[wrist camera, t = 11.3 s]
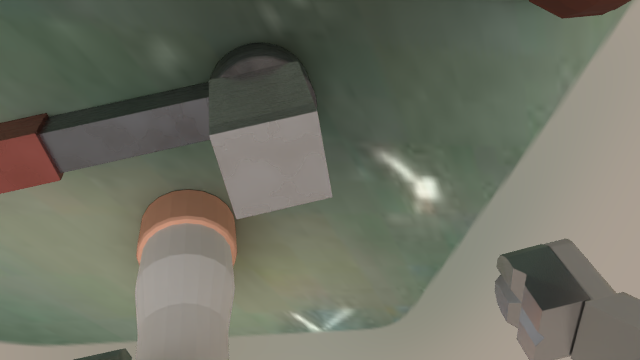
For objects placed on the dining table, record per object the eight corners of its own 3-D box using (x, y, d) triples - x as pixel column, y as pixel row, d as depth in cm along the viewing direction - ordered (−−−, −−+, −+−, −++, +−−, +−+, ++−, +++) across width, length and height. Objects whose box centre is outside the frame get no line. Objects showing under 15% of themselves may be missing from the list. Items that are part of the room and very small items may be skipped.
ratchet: (-109, 120, 33) (-165, 171, 28) (300, 32, 34) (315, 66, 29) (-47, 206, 37) (-86, 264, 32) (316, 124, 38) (332, 167, 33)
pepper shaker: (246, 247, 44) (266, 481, 28) (161, 270, 43) (135, 519, 28) (219, 178, 39) (226, 408, 24) (125, 203, 39) (70, 453, 24)
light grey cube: (208, 80, 32) (209, 135, 26) (298, 60, 32) (317, 111, 27) (231, 155, 35) (236, 219, 29) (312, 137, 35) (332, 197, 30)
